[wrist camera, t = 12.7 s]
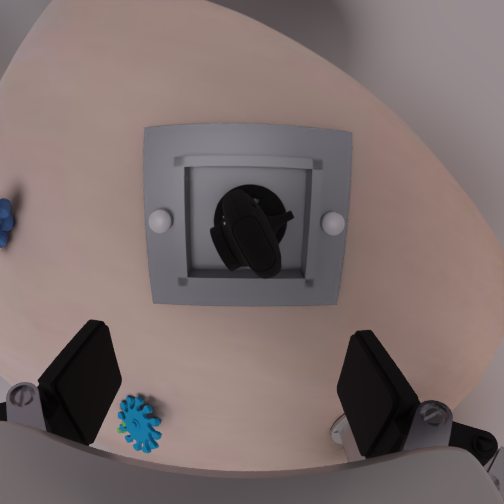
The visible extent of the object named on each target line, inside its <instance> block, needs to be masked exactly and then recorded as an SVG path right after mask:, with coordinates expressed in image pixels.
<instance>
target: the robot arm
mask: <svg viewBox="0 0 504 504" xmlns="http://www.w3.org/2000/svg"><path fill="white" fill-rule="evenodd" d="M38 382H39V385H38V387H36V386H35V385H34V384H32V383H28V382H22V383H18V384H16V385H14V386H13V387H11V389H10V390H9V391H8V393H7V397H6V402H3V403H0V504H504V447H502V446H501V448H500V449H498V445H497V444H498V443H497V440H496V439H495V437H494V436H493V435H492V434H491V433H489V432H487V431H484V430H480V429H477V428H473V427H470V426H467V425H463V424H460V423H457V422H454V421H453V415H452V412H451V410H450V409H449V407H448V406H447V405H445V404H444V403H442V402H439V401H435V400H428V401H425V402H422V403H420V401H419V400H418V396H417V395H416V393H415V392H414V390H413V389H412V387H411V386H410V384H409V383H408V381H407V380H406V378H405V377H404V375H403V374H402V372H401V371H400V370H399V368H398V367H397V365H396V364H395V362H394V361H393V360H392V358H391V357H390V355H389V354H388V353H387V351H386V350H385V348H384V347H383V346H382V344H381V343H380V341H379V340H378V339H377V337H376V336H375V335H374V333H373V332H372V331H371V330H361V331H356V332H355V335H352V336H351V337H350V341H349V345H348V349H347V353H346V356H345V360H344V364H343V367H342V371H341V374H340V378H339V381H338V384H337V394H338V396H339V399H340V402H341V404H342V407H343V410H344V412H345V414H344V415H343V416H342V417H340V418H339V419H338V420H337V421H336V422H335V424H334V425H333V426H332V428H331V432H330V434H331V438H332V440H333V441H334V442H335V443H337V444H341V445H343V448H344V451H345V454H346V457H347V460H348V463H343V464H336V465H330V466H323V467H315V468H306V469H296V470H281V471H220V470H206V469H195V468H186V467H178V466H171V465H165V464H159V463H153V462H148V461H143V460H138V459H134V458H129V457H125V456H121V455H117V454H113V453H110V452H106V451H103V450H99V449H96V448H93V447H90V446H89V444H92V443H93V442H94V441H95V438H96V436H97V434H98V432H99V430H100V427H101V425H102V423H103V421H104V419H105V417H106V415H107V412H108V410H109V408H110V406H111V404H112V402H113V400H114V398H115V396H116V394H117V392H118V390H119V388H120V386H121V382H122V377H121V373H120V370H119V367H118V363H117V359H116V356H115V352H114V348H113V344H112V340H111V335H110V331H109V327H108V326H107V325H105V323H104V322H103V321H98V320H89V321H88V322H87V323H86V324H85V325H84V326H83V327H82V328H81V329H80V331H79V332H78V333H77V334H76V335H75V336H74V337H73V339H72V340H71V341H70V342H69V343H68V344H67V345H66V347H65V348H64V349H63V350H62V351H61V352H60V354H59V355H58V356H57V357H56V358H55V360H54V361H53V362H52V363H51V364H50V366H49V367H48V368H47V369H46V370H45V372H44V373H43V374H42V375H41V377H40V378H39V379H38Z"/></svg>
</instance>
